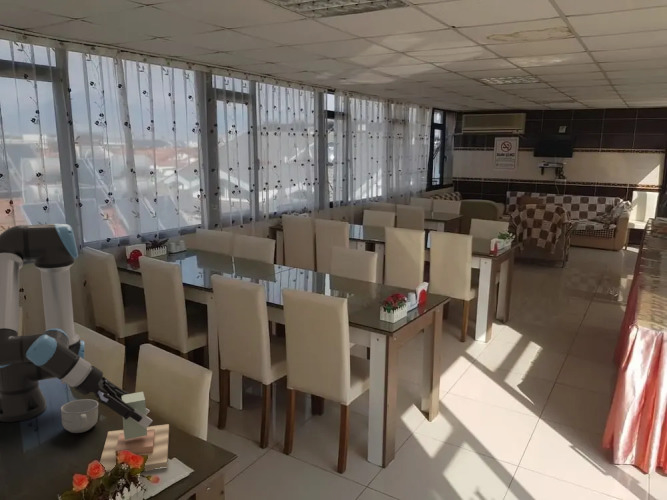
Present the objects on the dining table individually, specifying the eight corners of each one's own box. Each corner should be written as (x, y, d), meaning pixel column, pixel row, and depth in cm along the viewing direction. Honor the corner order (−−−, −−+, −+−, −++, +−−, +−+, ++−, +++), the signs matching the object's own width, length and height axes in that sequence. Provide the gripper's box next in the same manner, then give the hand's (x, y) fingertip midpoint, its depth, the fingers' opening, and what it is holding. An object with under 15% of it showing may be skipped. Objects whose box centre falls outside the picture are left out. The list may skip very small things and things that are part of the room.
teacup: (64, 423, 169) (62, 400, 167) (100, 417, 173) (98, 395, 172) (60, 444, 156) (58, 420, 155) (99, 437, 160) (97, 413, 159)
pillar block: (123, 430, 153) (121, 395, 151) (144, 425, 155) (142, 391, 153) (125, 439, 147) (122, 403, 146) (147, 435, 150) (145, 399, 148)
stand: (108, 437, 160) (107, 425, 160) (169, 429, 165) (168, 418, 165) (97, 478, 140) (96, 465, 139) (167, 468, 144) (166, 455, 144)
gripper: (72, 374, 150) (135, 415, 160) (72, 401, 133) (142, 445, 143) (91, 354, 152) (152, 396, 161) (93, 378, 135) (161, 423, 145)
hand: (147, 419), depth 152 cm, fingers closed on pillar block, 6 cm apart
